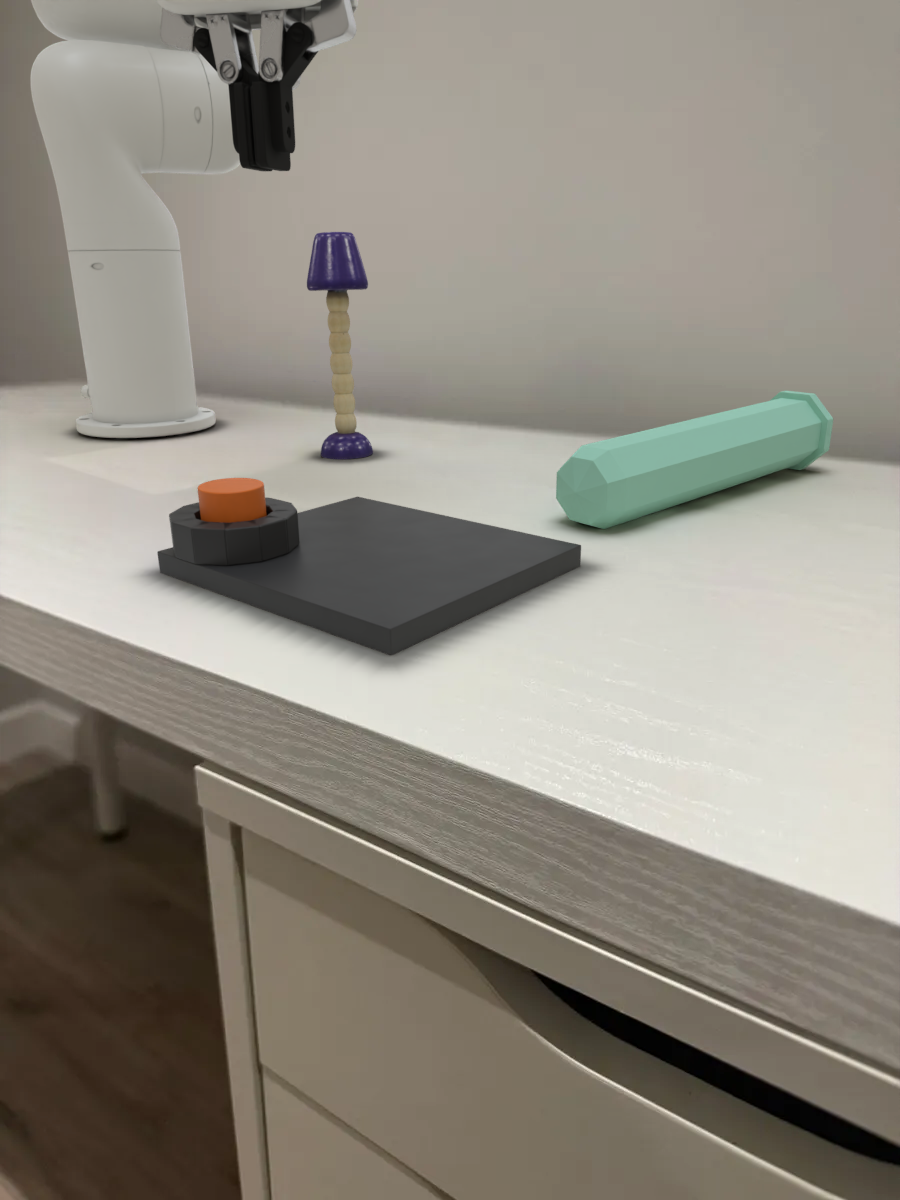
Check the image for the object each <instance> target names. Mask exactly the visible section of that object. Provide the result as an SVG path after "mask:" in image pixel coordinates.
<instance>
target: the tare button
mask: <svg viewBox="0 0 900 1200" xmlns="http://www.w3.org/2000/svg"><path fill="white" fill-rule="evenodd" d="M196 490H197V498H198V502H199V506H200V515H201V520H202V521H206V522H224V523H231V522H241V521H250V520H254V519H258V518H262V517H265V516H267V514H266V502H265V497H266V494H265V493H266V491H265V490H266V489H265V483H264V482H263V480H260V479H256V478H250V477H225V478H218V479H212V480H207V481H205V482H203V483H201V484H198V486H197V489H196Z"/></svg>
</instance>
